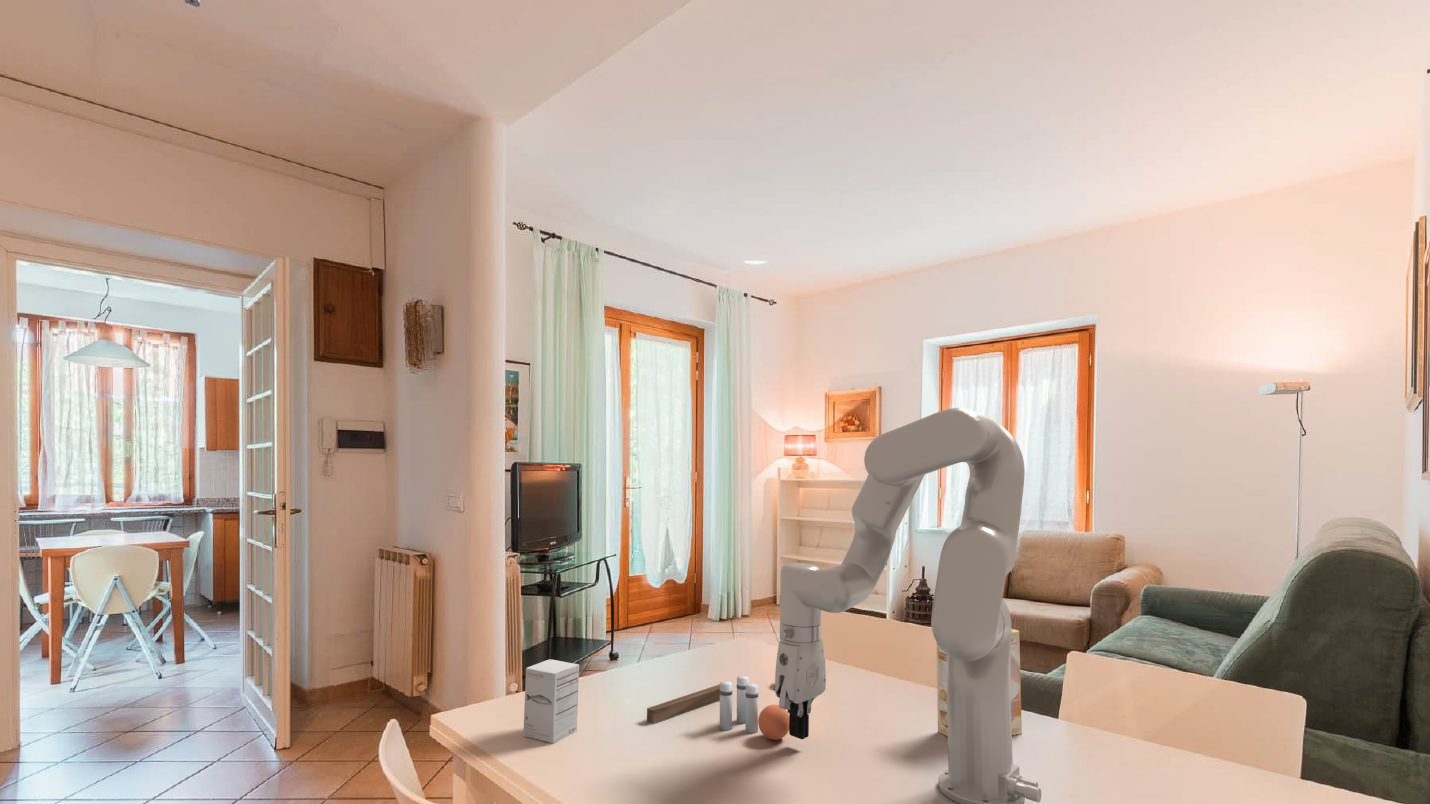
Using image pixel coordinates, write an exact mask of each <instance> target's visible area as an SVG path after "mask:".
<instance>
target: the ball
mask: <svg viewBox="0 0 1430 804" xmlns="http://www.w3.org/2000/svg"><path fill="white" fill-rule="evenodd" d="M758 729H759V731H760V733H761V734H762V735H763V736H764V737H765V738H767V739H770V740H771V741H778V740H782V739H783V738H785V736H787V734H789V713H788V712H787V709H782V708H779V704H770V705H766V706H765V707H764V708H763V709H762V710H761V711H760V712H759V714H758Z"/></svg>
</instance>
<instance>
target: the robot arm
mask: <svg viewBox="0 0 1430 804" xmlns="http://www.w3.org/2000/svg"><path fill="white" fill-rule="evenodd" d="M1021 450H1022V449H1021V448H1020V446H1019V444H1018V442H1017V440H1016V439H1015V437H1014V436H1013V435H1012V434H1011V433H1010V431H1008V429H1006V428H1005V427H1004V426H1002V424H1000V423H998V422H997V421H995V420H994V419H993V418H991V417H989V416H987V415H986V414H983V413H980V412H977V411H975V410H971V409H968V408H963V407H952V408H951V407H950V408H947V409H946V408H945V409H943V410H939V411H938V412H934V413H932V414H930V415H927V416H924V417H922V418H920V419H918V420H915V421H912V422H910V423H907V424H905V425H902V426H900V427H896V428H895V429H892V430H889V431H887V432H885V433H884V432H883V433H882V434H880V435H879V436H876V437H875V438H874V439H873V440H872V441H871V442H870V443H869V444H868V446H867V447H866V450H865V452H864V458H863V460H864V461H863V463H864V467H865V470H866V472H867V477H866V478H865V480H864V483H863V484H862V487H861V488H860V491H859V493H858V495H857V496H856V499H855V501H854V503H853V504H852V507H851V516H852V518H853V522H854V526H855V527H854V535H853V539H852V541H851V543H850V546H849V547H848V550H847V552H846V554H845V556H844V558H843V559H842V562H841V564H839V565H837V566H834V567H830V568H827V569H826V568H825V569H820V567H819V566H818V565H815V564H812V563H807V562H806V563H805V562H790V563H787V564H784V565H783V566H782V568H781V569H780V574H779V575H780V578H779V579H780V583H779V584H780V585H779V586H780V588H779V591H780V592H779V594H780V595H779V642H778V647H777V654H776V660H775V661H776V663H775V671H774V672H775V673H774V674H775V676H774V678H775V679H774V691H775V696H776V697H777V698H779V701H778V705H779V708H782V709H785V710H786V711H787V713H788V714H789V731H788V734H789V736H791V737H795V738H797V739H799V740H804V739H805V738H809V729H810V720H809V719H810V714H811V712H812V703H813V702H814V700H815V699H816V698H817V697H819V696H821V695H822V694H823V693H824V692H826V689H827V687H826V686H827V674H826V673H827V671H826V657H825V647H824V642H823V639H822V636H821V635H822V620H821V619H822V612H826V613H830V614H831V613H832V614H838V613H839V614H840V613H844V612H845V611H847V610H849V609H851V608H854V607H855V606H858V605H861V603H864V602H865V601H866V600H867V599H868V598H869V597H870V596H871V595H872V593H873V591H874V589H875V587H876V585H877V584H878V582H879V579H880V577H881V576H882V574H883V572H884V570H885V568H886V566H887V564H888V562H889V558H890V556H891V553H892V550H893V546H894V543H895V541H896V540H895V539H896V535H897V532H898V529H899V527H900V525H901V524H902V521H903V519H904V517H905V514H906V513H907V512H908V509H909V507H910V505H911V503H912V501H913V499H914V497H915V495H916V494H917V491H918V489H919V487H920V485H921V483H922V481H923V479H924V477H925V475H927V474H930V473H933V472H936V471H938V470H942V469H944V468H947V467H950V466H954V465H956V464H959V463H966V464H967V466H968V469H969V475H968V476H969V478H968V481H967V486H966V489H965V495H964V496H965V497H964V507H963V512H962V517H961V521H960V526H958V527H956V528H955V529H954V530H952V531H951V532H950V534H948V535H947V537H946V539H945V540H944V543H943V544H942V549H941V551H940V556H939V562H938V568H937V576H936V582H935V589H934V596H933V602H932V608H931V619H930V621H931V630H932V631H931V632H932V635H933V637H934V640H935V641H936V644H937V643H938V645H939V646H940V648H941V649H942V650H943V651H944V652H945V653H946V654H947V724H948V737H947V761H948V763H947V764H948V765H947V766H948V769H947V770H945V771H943V772H941V774H939V776H938V788H939V790H940V791H941V792H942V794H943V795H944V796H945V797H947V798H949V799H950V800H952V801H954V802H956V803H959V804H1024V802H1025V799H1026V800H1028V801H1032V802H1034V803H1035V802H1036V803H1037V804H1038V803H1041V799H1042V790H1041V788H1039V784H1038V782H1037V781H1034V780H1031V779H1027V778H1023V776H1022V775H1020V765H1016V764H1013V761H1014V760H1013V736H1012V725H1011V678H1010V656H1011V628H1012V618H1011V617H1012V616H1011V613H1010V610H1009V608H1008V605H1007V604H1006V602H1005V600H1004V591H1005V585H1006V577H1007V575H1008V574H1009V573H1010V572H1011V570H1012V569H1013V568H1014V567H1015V563H1016V560H1017V553H1018V552H1017V551H1018V550H1017V549H1018V539H1019V532H1020V531H1019V530H1020V524H1021V523H1020V522H1021V516H1022V507H1023V506H1022V505H1023V497H1024V496H1023V495H1024V489H1025V488H1024V486H1025V479H1026V478H1025V475H1026V472H1025V469H1026V468H1025V461H1024V460H1025V459H1024V455H1023V453H1022V451H1021Z"/></svg>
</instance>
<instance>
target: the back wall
mask: <svg viewBox="0 0 1430 804" xmlns="http://www.w3.org/2000/svg"><path fill="white" fill-rule="evenodd" d="M719 700H720V683H719V684H717V685H713V686H711V687H707V688H705V689H701V690H699V691H698V690H697V691H695V692H691V693H689V694H687V695H684V696H680V697H677V698H673V699H670V700H667V701H665V702H662V703H659V704H656V705H653V706H650V707H649V706H648V707H647V708H646V722H648V723H650V724H652V725H655V724H658V723H660V722H663V721H666V720H668V719H671V718H674V716H675V717H676V715H677V716H680V715H682V714H683V715H684V714H685V712H686V713H689V712H691V711H695V710H696V709H699V708H704V707H705V706H709V705H711V704H713V703H716V701H717V702H720V701H719ZM665 719H666V720H665ZM654 723H655V724H654Z"/></svg>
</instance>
